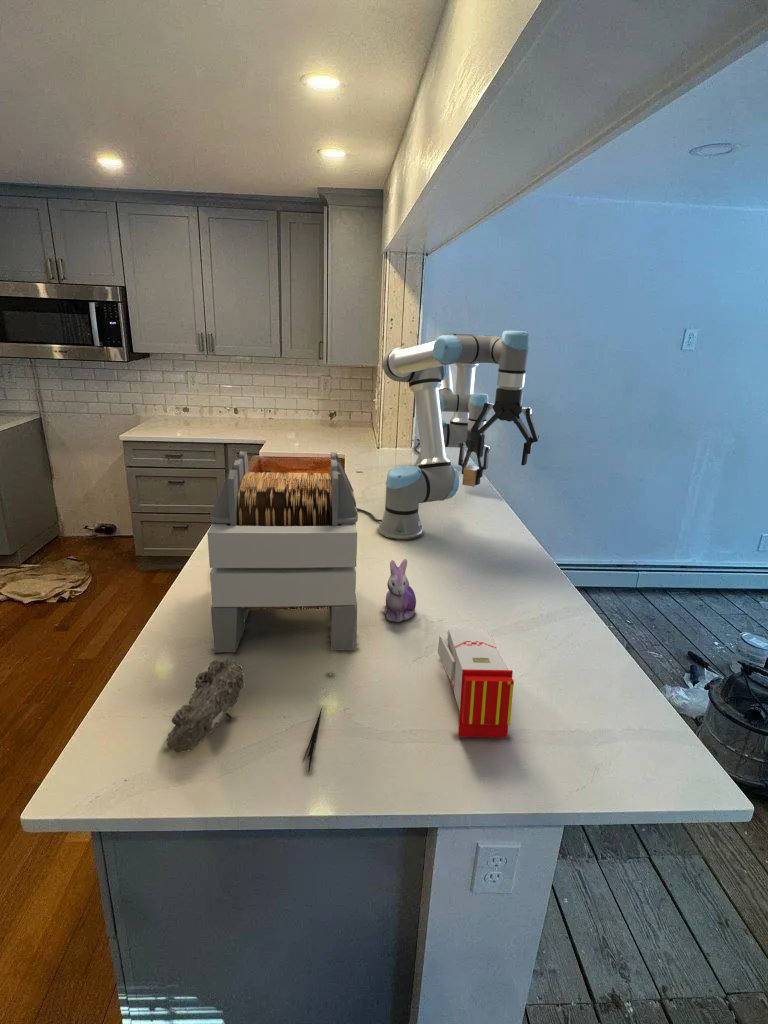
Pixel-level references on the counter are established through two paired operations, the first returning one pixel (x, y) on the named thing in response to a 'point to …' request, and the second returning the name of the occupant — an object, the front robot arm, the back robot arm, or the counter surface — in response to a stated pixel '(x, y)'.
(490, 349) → the front robot arm
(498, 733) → the toy
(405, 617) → the figurine
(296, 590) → the record storage crate
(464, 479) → the brown block
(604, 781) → the counter surface
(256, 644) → the counter surface
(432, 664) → the counter surface
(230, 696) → the fossil
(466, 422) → the back robot arm
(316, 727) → the feather
